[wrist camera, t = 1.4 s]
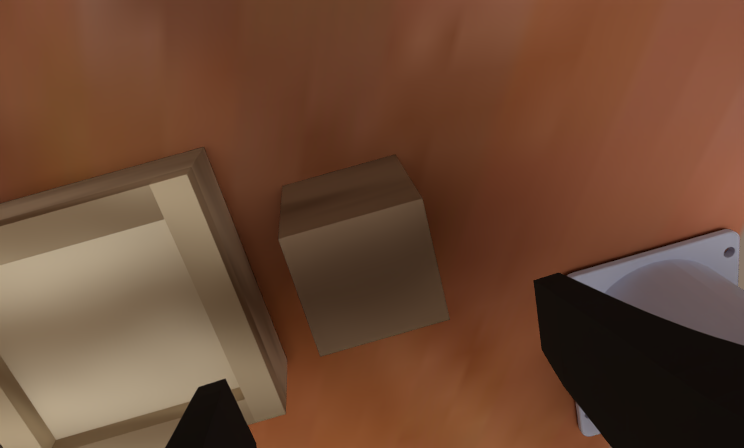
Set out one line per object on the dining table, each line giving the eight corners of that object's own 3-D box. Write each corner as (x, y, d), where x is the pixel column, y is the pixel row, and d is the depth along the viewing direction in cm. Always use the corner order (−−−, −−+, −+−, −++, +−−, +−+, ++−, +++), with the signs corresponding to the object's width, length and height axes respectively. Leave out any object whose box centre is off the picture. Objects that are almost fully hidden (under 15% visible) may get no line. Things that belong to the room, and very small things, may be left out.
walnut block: (419, 254, 23) (449, 319, 18) (315, 283, 23) (320, 356, 18) (395, 154, 21) (422, 198, 16) (282, 185, 21) (278, 239, 16)
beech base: (287, 360, 24) (285, 414, 21) (65, 424, 24) (32, 487, 21) (203, 147, 20) (186, 174, 17) (-65, 221, 20) (-131, 262, 17)
